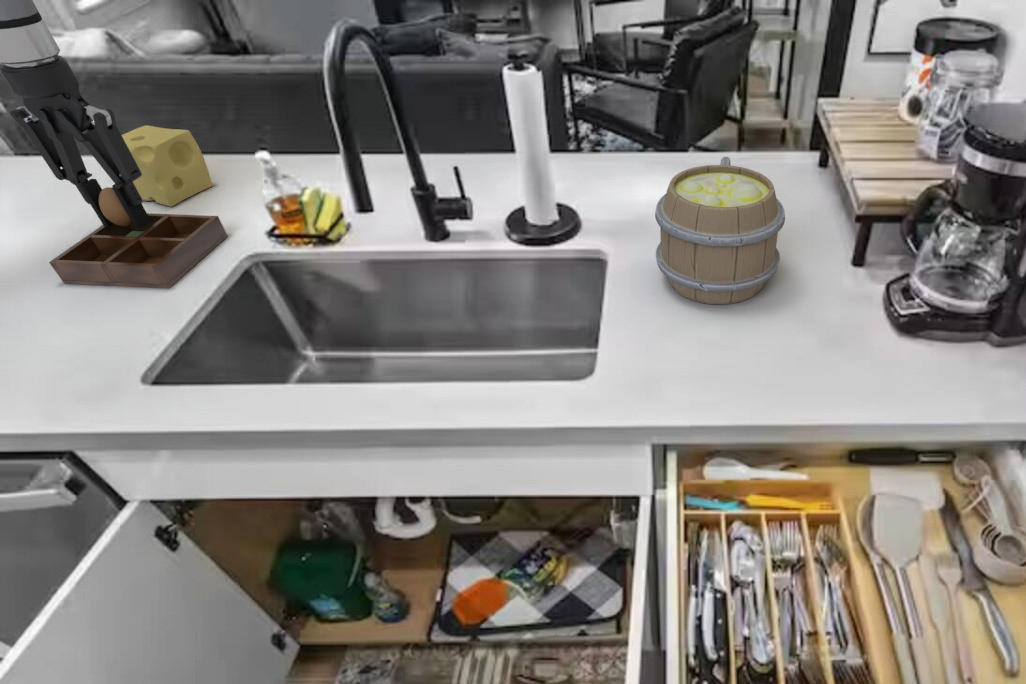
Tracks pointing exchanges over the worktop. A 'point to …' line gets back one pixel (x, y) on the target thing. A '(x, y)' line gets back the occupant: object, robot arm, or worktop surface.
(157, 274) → the grid
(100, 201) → the egg
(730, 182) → the mug
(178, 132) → the cheese
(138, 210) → the robot arm
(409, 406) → the worktop surface
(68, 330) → the worktop surface
